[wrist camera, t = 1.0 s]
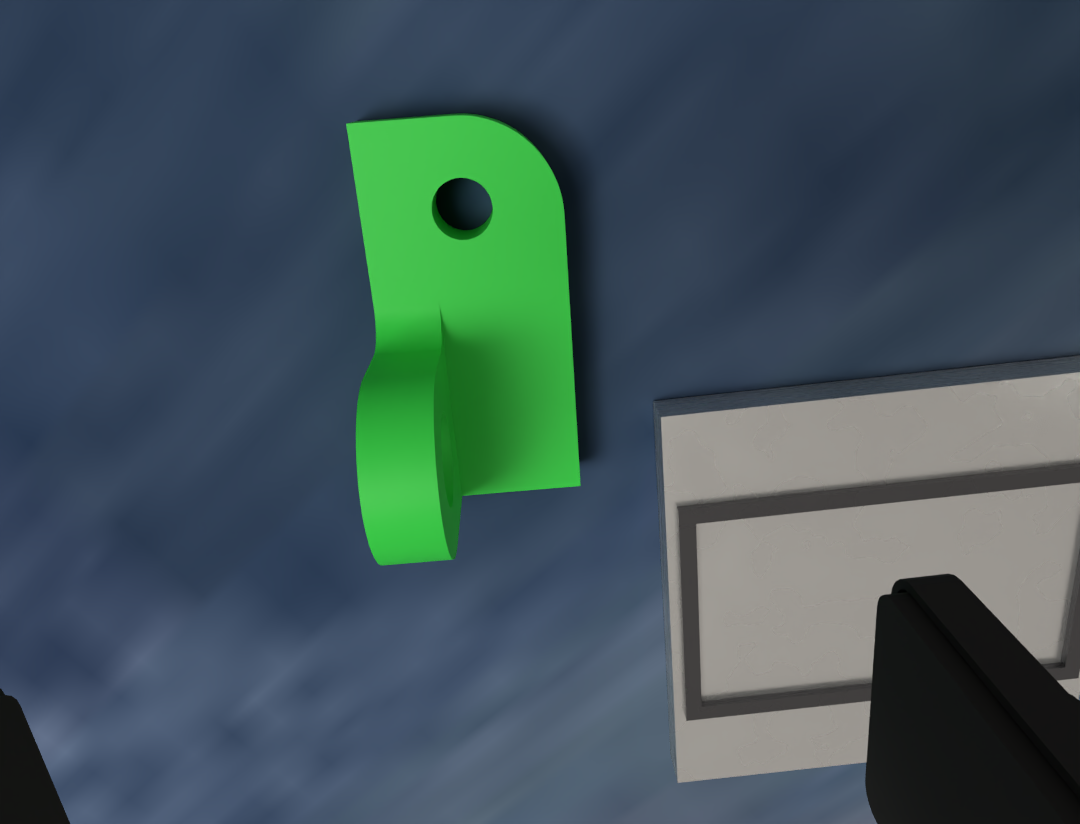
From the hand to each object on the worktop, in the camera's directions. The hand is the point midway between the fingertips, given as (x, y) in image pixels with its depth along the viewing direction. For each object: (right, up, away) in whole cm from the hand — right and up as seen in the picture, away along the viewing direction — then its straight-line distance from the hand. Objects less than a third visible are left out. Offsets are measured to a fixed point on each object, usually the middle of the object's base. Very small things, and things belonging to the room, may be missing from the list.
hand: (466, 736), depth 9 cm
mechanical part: (-1, +7, +18) cm, 20 cm away
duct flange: (+13, -3, +23) cm, 26 cm away
